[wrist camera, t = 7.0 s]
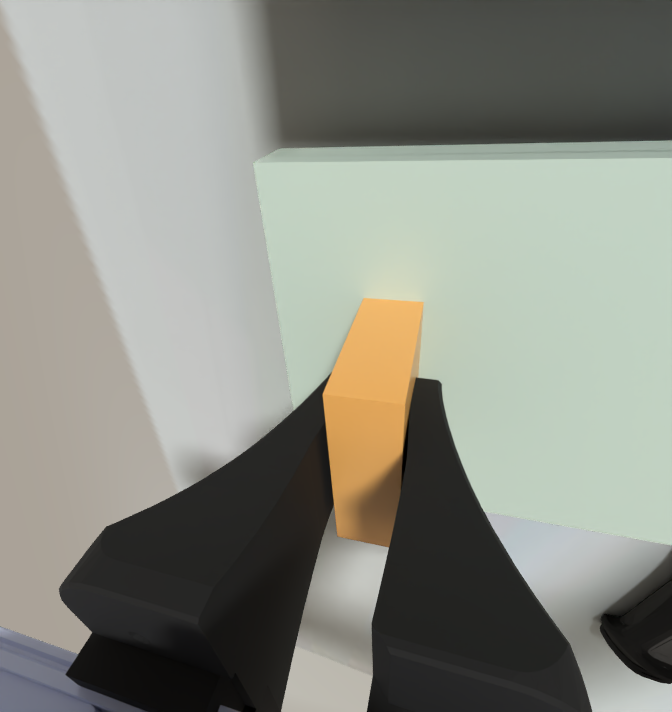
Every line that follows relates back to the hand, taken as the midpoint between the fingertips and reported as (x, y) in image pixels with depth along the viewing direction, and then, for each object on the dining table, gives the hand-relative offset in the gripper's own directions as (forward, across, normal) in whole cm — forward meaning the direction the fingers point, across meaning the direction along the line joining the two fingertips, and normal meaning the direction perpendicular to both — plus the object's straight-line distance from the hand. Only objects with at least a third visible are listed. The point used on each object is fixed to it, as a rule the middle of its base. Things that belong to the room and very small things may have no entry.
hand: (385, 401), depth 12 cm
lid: (+3, -4, 0) cm, 5 cm away
